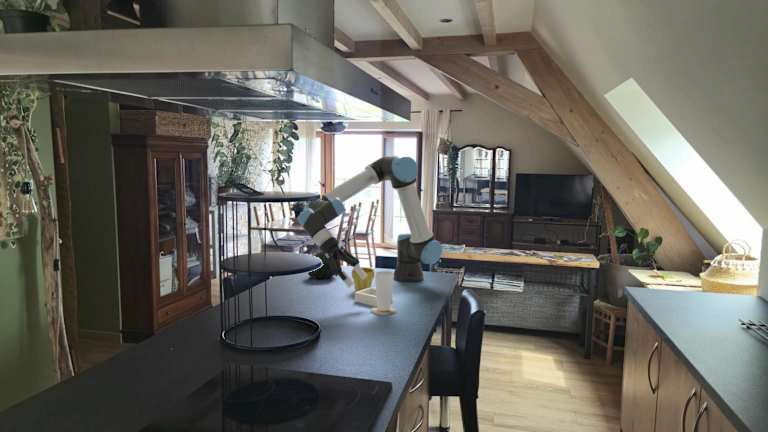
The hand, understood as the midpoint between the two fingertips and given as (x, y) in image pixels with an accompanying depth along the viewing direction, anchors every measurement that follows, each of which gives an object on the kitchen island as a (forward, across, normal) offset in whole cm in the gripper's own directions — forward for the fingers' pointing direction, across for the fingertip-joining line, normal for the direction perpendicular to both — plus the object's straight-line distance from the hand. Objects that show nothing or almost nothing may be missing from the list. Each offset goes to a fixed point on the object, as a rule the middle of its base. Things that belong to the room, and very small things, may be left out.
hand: (358, 281), depth 204 cm
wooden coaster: (+16, 0, +1) cm, 16 cm away
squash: (-18, -40, -35) cm, 56 cm away
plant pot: (+2, -25, -14) cm, 29 cm away
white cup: (+15, 0, +1) cm, 15 cm away
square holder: (+9, -11, -6) cm, 16 cm away
